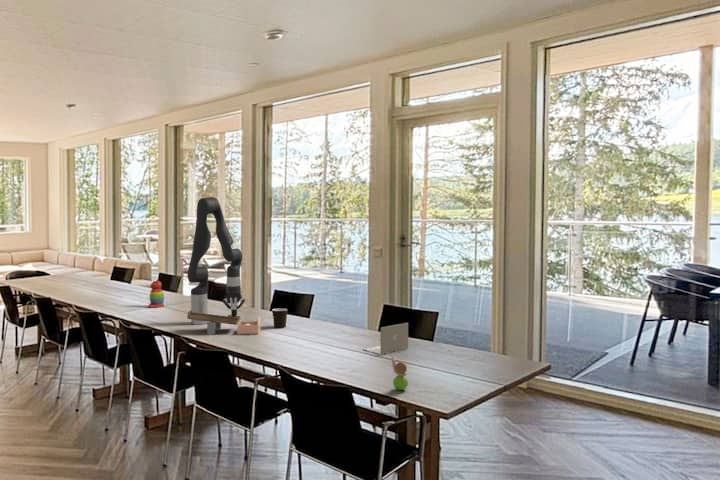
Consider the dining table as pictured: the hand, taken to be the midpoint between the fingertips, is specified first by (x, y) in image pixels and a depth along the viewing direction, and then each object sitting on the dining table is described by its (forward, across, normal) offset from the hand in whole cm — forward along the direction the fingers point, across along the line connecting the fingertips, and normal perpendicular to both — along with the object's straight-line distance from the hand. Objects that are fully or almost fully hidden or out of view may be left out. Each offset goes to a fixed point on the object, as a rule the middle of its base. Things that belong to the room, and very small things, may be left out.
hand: (234, 316), depth 320 cm
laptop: (+9, -79, +48) cm, 93 cm away
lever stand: (+7, +10, +4) cm, 13 cm away
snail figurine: (+9, -78, +110) cm, 136 cm away
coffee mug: (+8, -25, -7) cm, 27 cm away
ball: (+5, -8, +7) cm, 12 cm away
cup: (+8, -9, +7) cm, 14 cm away
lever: (+1, +10, +4) cm, 11 cm away
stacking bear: (+6, +66, -79) cm, 103 cm away
